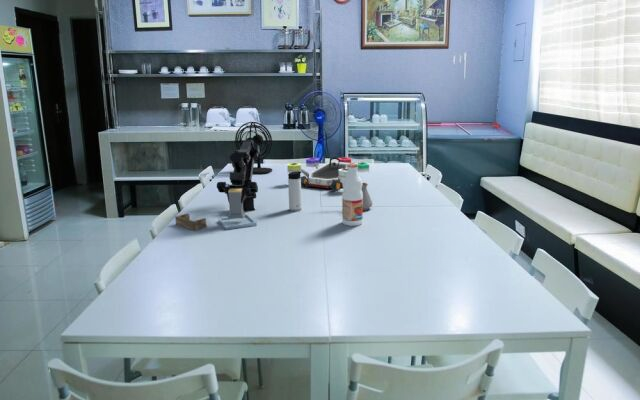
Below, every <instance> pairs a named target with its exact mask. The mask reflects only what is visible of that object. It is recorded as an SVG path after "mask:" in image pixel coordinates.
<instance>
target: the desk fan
mask: <svg viewBox="0 0 640 400" xmlns="http://www.w3.org/2000/svg"><path fill="white" fill-rule="evenodd" d="M248 124H250V125H248ZM246 125H247V126H246ZM244 126H245V127H244ZM252 127H253V128H254V129H253V128H252ZM248 128H249V130H247V131H246V132H245V130H246V129H248ZM258 132H260V133H261V134H262V135H263V136H264V137H263V136H262V135H260V134H259V133H258ZM252 133H254V134H255V135H253V136H252ZM245 134H246V136H245ZM244 136H245V139H244V140H253V142H255V143H256V144H258V146H259V149H260V152H259V154H258V158H257V159H256V160H255V161H254V162H256V165H257V166H256V167H255V166H253V173H252V175H253V174H255V175H256V174H257V175H263V174H269V173H271V172H272V171H273V168H270V167H262V166H261V164H262V163H261V160H264V159H266V157H268V156H269V154H270V153H271V151H272V148H273V138H272V135H271V132H270V131H269V129H268V128H267V127H266V126H265V125H263V124H262V123H260V122H257V121H249V122H246V123H243V124H242V125H240V126H239V128H238V129H237V130H236V133H235V137H234V144H235V148H236V149H237V150H240V148H241V146H242V144H243V141H244V140H243V137H244ZM248 136H249V137H248ZM264 139H265V140H264ZM263 145H264V146H263ZM262 146H263V148H262ZM237 150H236V151H237ZM263 150H264V152H263V153H261V152H262V151H263ZM265 154H266V155H265ZM264 155H265V156H264ZM263 156H264V157H263ZM261 157H262V158H261Z"/></svg>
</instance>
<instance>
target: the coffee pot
mask: <svg viewBox="0 0 640 400" xmlns="http://www.w3.org/2000/svg"><path fill="white" fill-rule="evenodd" d="M332 181H335V182H337V183H338V184H340V185H343V183H342V182H339V181H337V180H334V179H332ZM332 181H331V183H332ZM368 184H369V183H366V182H362V188H361V190H362V193H363V211H368V210H369V209H371V207H372V206H373V204H374V203H373V200H372V199H371V195H370V194H369V191H368V188H367V186H368Z"/></svg>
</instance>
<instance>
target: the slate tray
mask: <svg viewBox="0 0 640 400" xmlns="http://www.w3.org/2000/svg"><path fill="white" fill-rule="evenodd" d="M217 221H219V222H218V223H219V224H220V226H222V228H223V229H224V230H225V231H229V230H236V229H242V228H250V227H256V226H257V225H258V224H257V221H255V219H254V218H252V217H251V216H250V215H249V214H246V215H245V216H244V218H228V216H226V217H220V218H217Z"/></svg>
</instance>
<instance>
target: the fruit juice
mask: <svg viewBox="0 0 640 400" xmlns="http://www.w3.org/2000/svg"><path fill="white" fill-rule="evenodd" d="M356 163H357V162H355V163H353V162H351V163H349V164H347V168H348V171H347V175H346V177H345V178H344V180H343V186H342V188H343V191H342V197H341V198H342V199H341V201H342V202H341V203H342V206H341V207H342V208H341V209H342V211H341V212H342V213H341V214H342V218H341V219H342V224H343V225H345V226H350V227H351V226H352V227H353V226H360V225H362V224H363V220H364V219H363V218H364V217H363V211H364V210H363V193H362V190H361V188H362V183H363V180H362V178H361V177H360V176H359V172H357V168H358V164H356Z"/></svg>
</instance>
